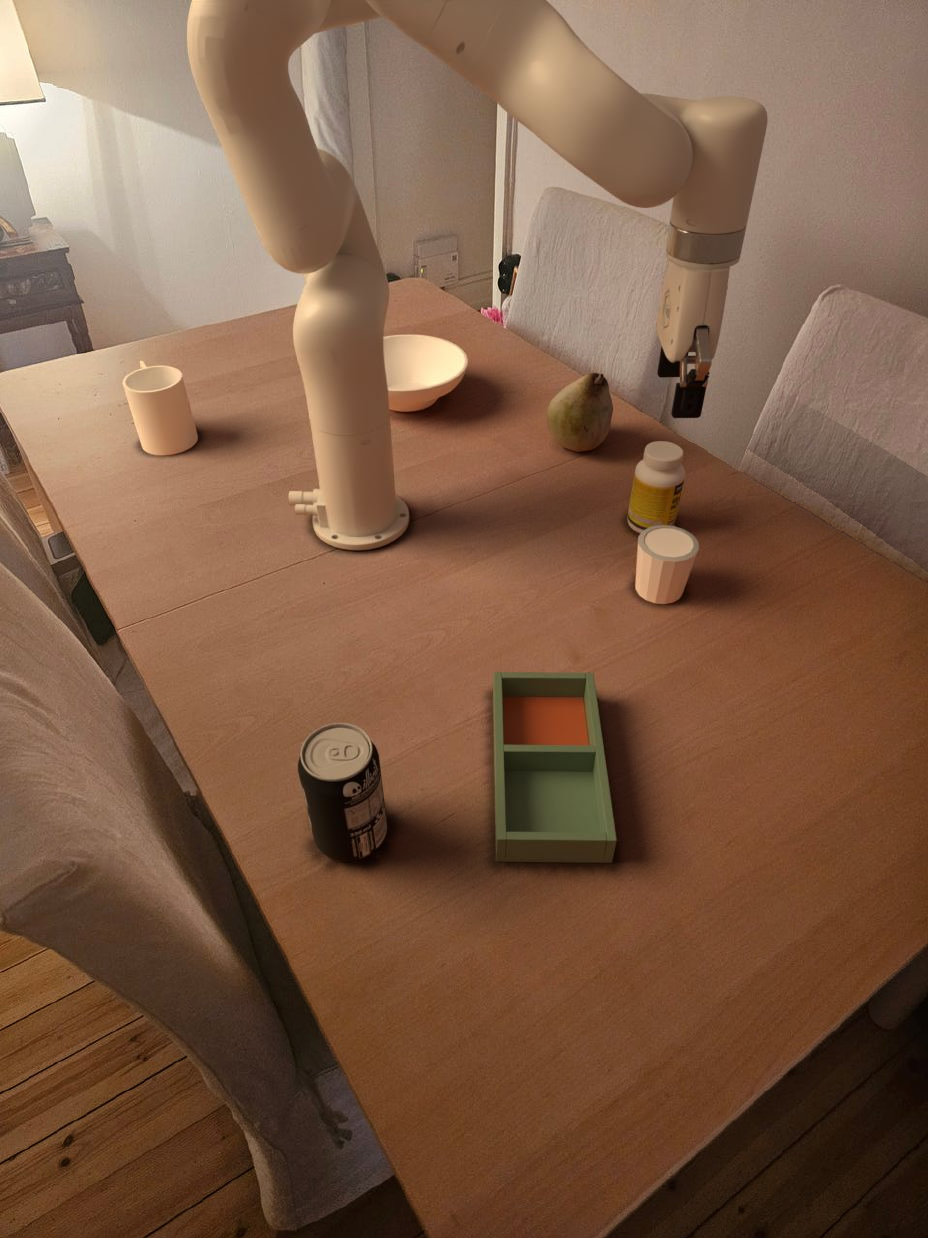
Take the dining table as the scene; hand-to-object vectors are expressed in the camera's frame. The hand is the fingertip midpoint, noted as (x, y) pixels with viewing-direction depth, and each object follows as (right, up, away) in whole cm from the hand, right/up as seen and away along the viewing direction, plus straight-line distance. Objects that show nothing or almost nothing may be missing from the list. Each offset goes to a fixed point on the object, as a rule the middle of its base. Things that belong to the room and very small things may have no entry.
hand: (677, 395), depth 95 cm
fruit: (-8, 0, +27) cm, 29 cm away
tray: (-17, -41, -17) cm, 47 cm away
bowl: (-34, +9, +37) cm, 51 cm away
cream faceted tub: (-2, -22, +3) cm, 23 cm away
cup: (-70, +2, +30) cm, 76 cm away
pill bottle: (0, -14, +13) cm, 19 cm away
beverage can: (-35, -45, -21) cm, 61 cm away
